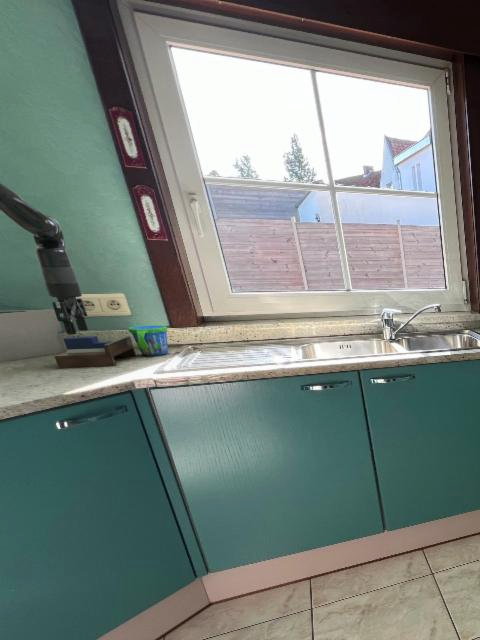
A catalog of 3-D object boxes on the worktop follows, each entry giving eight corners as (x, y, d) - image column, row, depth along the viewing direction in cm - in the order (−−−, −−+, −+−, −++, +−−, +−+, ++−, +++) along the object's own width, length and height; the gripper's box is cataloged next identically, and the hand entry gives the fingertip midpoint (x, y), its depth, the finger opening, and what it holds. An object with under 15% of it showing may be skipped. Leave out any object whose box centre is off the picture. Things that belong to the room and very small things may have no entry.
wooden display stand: (58, 368, 160) (50, 346, 157) (86, 357, 177) (79, 337, 174) (114, 365, 166) (107, 345, 163) (136, 355, 182) (130, 336, 180)
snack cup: (161, 358, 179) (152, 329, 175) (126, 358, 176) (117, 330, 173) (182, 350, 193) (175, 324, 189) (151, 351, 190) (142, 324, 187)
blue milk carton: (67, 353, 163) (62, 338, 161) (74, 350, 167) (68, 336, 165) (110, 351, 168) (106, 337, 166) (116, 349, 171) (111, 335, 170)
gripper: (56, 280, 163) (72, 329, 169) (33, 282, 151) (52, 335, 157) (86, 280, 166) (101, 329, 172) (66, 283, 154) (83, 335, 160)
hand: (78, 332), depth 164 cm, fingers open, 8 cm apart
